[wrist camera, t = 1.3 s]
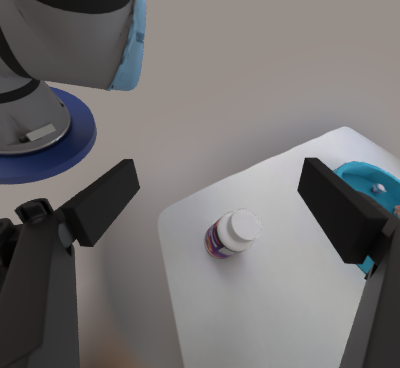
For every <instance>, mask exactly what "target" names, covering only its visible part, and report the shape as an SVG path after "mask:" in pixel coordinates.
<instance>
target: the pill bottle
mask: <svg viewBox="0 0 400 368" xmlns="http://www.w3.org/2000/svg"><path fill="white" fill-rule="evenodd" d="M260 232H261V223H260V220H259V219H258V217H257V216H256V215H255V214H254V213H253V212H252V211H250V210H247V209H239V210H237V211H235V212H228V213H226V214H224V215H223V216H222V217H221V218H220V219H219V220H218V221H217V222H216V223H215V224H213V225H212V226H211V227H210V228H209V229H208V230H207V232H206V234H205V238H204V242H205V246H206V249H207V250H208V252H209V253H210V254H211V255H212V256H214V257H216V258H221V259H222V258H227V257H230V256H232V255H235V254H237V253H240V252H242V251H245V250H247V249H248V248H250V247H251V246H252V244H253V242H254V240H255V239H256V238H257V237H258V236H259V235H260Z"/></svg>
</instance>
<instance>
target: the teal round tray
mask: <svg viewBox="0 0 400 368" xmlns="http://www.w3.org/2000/svg"><path fill="white" fill-rule="evenodd" d="M333 172H334V173H335V174H337V175H338V176H339V177H340V178H341V179H343V180H344V181H345V182H346V183H347V184H349V185H350V186H351V187H352V188H353V189H355V190H356V191H361V192H363V193H365V194H367V195H369V196H370V197H372V198H373V199H374V200H375V201H377V203H379V204H380V205H382V206H383V208H385V209H387V210H388V211H389V212H390V213H392V214H393V215H394V216H396V217H397V218H398V219H399V220H400V180H398V179H397V178H395V177H394V176H393V175H391V174H390V173H388V172H386V171H384V170H382V169H380V168H378V167H376V166H373V165H371V164H368V163H365V162H355V161H353V162H349V163H345V164H343V165H342V166H340V167H339V168H337V169H336V170H334V171H333ZM373 263H374V262H373V261H372V260H371V258H370V257H369V256H367V258H366V259H365V261H364V263H363V264H357V265H358V266H359V267H360V268H361V270H362V271H364V272H365V273H366V274H367V273H368V271H369V270H370V268H371V267H372V265H373Z"/></svg>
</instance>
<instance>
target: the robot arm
mask: <svg viewBox="0 0 400 368" xmlns="http://www.w3.org/2000/svg"><path fill="white" fill-rule="evenodd" d="M145 25H146V0H0V157H23V156H29V155H34V154H37V153H41V152H44V151H46V150H49V149H51V148H53V147H54V146H56V145H58V144H59V143H60V142H62V141H63V140H64V139H65V138H66V137H67V135H68V134H69V132H70V130H71V127H72V119H71V116H70V114H69V111H68V109H67V107H66V106H65V104H64V103H63V102H62V100H61V99H60V98H59V97H58V96H57V95H56V94H55V93H54V91H53V90H52V89H51V88H50V87H49V86H48V85H47V84H46V83H45V82H44V81H51V82H58V83H64V84H71V85H78V86H84V87H91V88H98V89H104V90H108V91H110V90H122V91H129V90H132V89H134V88H135V87H136V86H137V84H138V81H139V77H140V72H141V66H142V58H143V49H144V41H143V40H144V33H145ZM139 189H140V186H139V182H138V178H137V174H136V170H135V166H134V162H133V159H124V160H122V161H121V162H120V163H118V164H117V165H116V166H114V167H113V168H112V169H110V170H109V171H108V172H106V173H105V174H104V175H102V176H101V177H100V178H99V179H97V180H96V181H95V182H93V183H92V184H91V185H89V186H88V187H87V188H85V189H84V190H82V191H80V192H79V193H78V194H76V195H75V197H72V198H71V199H70V200H68V201H67V202H66V203H64V204H63V205H62V206H61V207H59V208H58V209H57V210H55V211H53V209H52V207H51V205H50V204H49V201H48V200H47V199H45V198H39V199H34V200H31V201H28V202H26V203H24V204H22V205H20V206H19V207H17V208H16V209H15V212H16V213H17V215H18V216H19V218H20V219H21V221H22V222H23V224H19V225H14V224H13V223H12V222H11V220H10V219H8V218H3V219H0V368H80V362H79V340H78V317H77V295H76V273H75V251H74V246H73V245H72V243H73V242H74V241H75V240H76V239H77V240H78V242H79V244H80V246H85V247H93V246H94V245H95V243H96V242H97V241H98V240H99V239H100V237H101V236H102V235H103V234H104V232H105V231H106V230H107V229H108V227H109V226H110V225H111V224H112V222H113V221H114V220H115V219H116V218H117V216H118V215H119V214H120V213H121V211H122V210H123V209H124V207H125V206H126V205H127V204H128V203H129V201H130V200H131V199H132V198H133V196H134V195H135V194H136V193H137V191H138V190H139ZM297 191H298V192H299V194H300V196H301V197H302V199H303V200H304V202H305V203H306V205H307V206H308V208H309V209H310V211H311V212H312V214H313V215H314V217H315V219H316V220H317V222H318V223H319V225H320V226H321V228H322V229H323V231H324V232H325V234H326V235H327V237H328V239H329V240H330V242H331V243H332V245H333V246H334V248H335V249H336V251H337V252H338V254H339V255H340V257H341V258H342V260H343V262H344V263H348V264H363V263H364V261H365V259H366V258H367V256H369V257H370V258H371V260H372V261H373V262H374V263H373V265H372V267H371V268H370V270H369V271H368V273H367V275H366V276H365V278H364V279H366V280H367V281H366V284H365V287H364V291H363V294H362V297H361V300H360V303H359V306H358V310H357V313H356V316H355V319H354V322H353V325H352V329H351V332H350V335H349V338H348V341H347V344H346V348H345V351H344V354H343V357H342V360H341V363H340V367H339V368H400V220H399V219H398V218H397V217H396V216H394V215H393V214H392V213H390V212H389V211H388V210H387V209H385V208H383V206H382V205H380V204H379V203H377V201H375V200H374V199H373V198H372V197H370V196H369V195H367V194H365V193H363V192H361V191H356V190H355V189H353V188H352V187H351V186H350V185H349V184H347V183H346V182H345V181H344V180H343V179H341V178H340V177H339V176H338V175H337V174H335V173H334V172H333V171H332V170H331V169H330V168H328V167H327V166H326V165H325V164H324V163H322V162H321V161H320V160H319V159H318V158H305V160H304V164H303V169H302V173H301V177H300V181H299V186H298V190H297Z"/></svg>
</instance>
